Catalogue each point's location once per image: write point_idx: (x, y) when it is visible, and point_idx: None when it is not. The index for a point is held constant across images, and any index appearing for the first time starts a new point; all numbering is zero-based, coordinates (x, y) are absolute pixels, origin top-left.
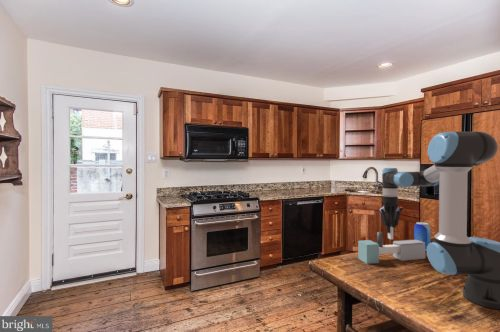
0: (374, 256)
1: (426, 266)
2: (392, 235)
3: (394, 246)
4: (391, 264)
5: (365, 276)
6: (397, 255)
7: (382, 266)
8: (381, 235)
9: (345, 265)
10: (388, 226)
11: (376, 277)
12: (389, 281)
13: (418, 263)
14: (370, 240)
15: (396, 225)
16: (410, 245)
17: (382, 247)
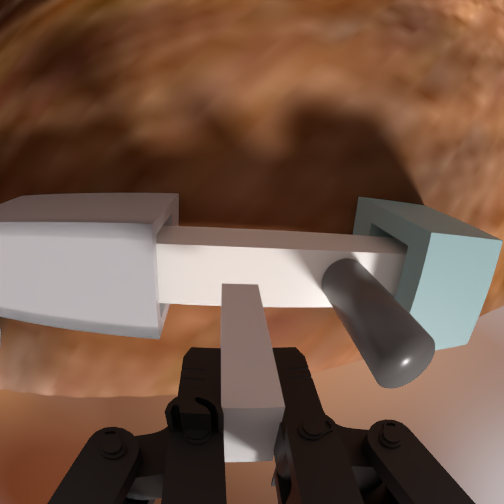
0: (407, 209)
1: (106, 70)
2: (237, 311)
3: (210, 250)
4: (303, 148)
5: (499, 91)
6: None
7: (378, 141)
8: (403, 316)
9: (497, 221)
10: (330, 429)
11: (474, 60)
12: (450, 10)
13: (110, 122)
14: None
15: (128, 434)
16: (61, 217)
17: (344, 252)
